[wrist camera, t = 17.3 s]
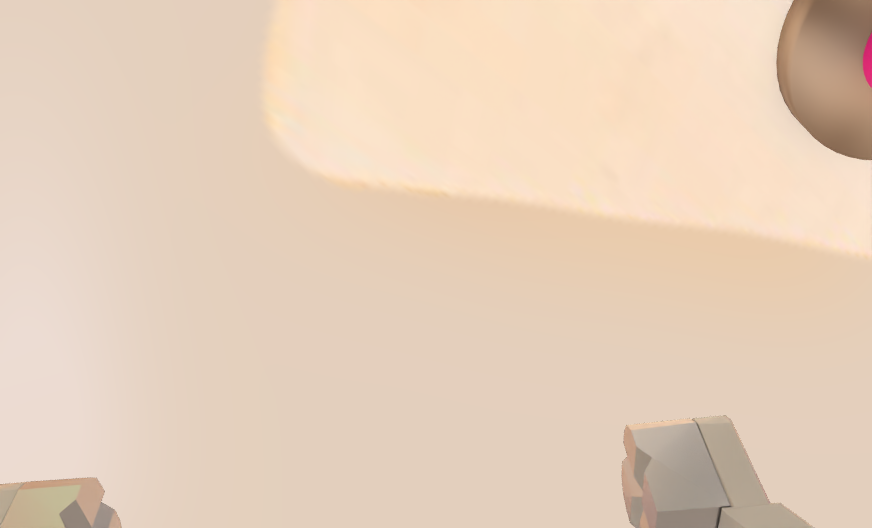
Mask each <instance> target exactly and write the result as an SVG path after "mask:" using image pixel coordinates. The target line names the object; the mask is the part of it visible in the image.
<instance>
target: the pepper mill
mask: <svg viewBox="0 0 872 528" xmlns="http://www.w3.org/2000/svg"><path fill="white" fill-rule="evenodd" d="M863 71H864V76H865V78H866V81H867V82H868V84H869V86H870V87H871V88H872V33H871V35H870V37H869V38H868V41H867V44H866V47H865V50H864V54H863Z"/></svg>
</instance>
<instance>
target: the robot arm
mask: <svg viewBox="0 0 872 528" xmlns="http://www.w3.org/2000/svg"><path fill="white" fill-rule="evenodd" d="M623 442H624V446H625V449H626V453H627V457H626V458H625V459H624V461H622V486H623V495H624V500H625V505H626V509H627V513H628V517H629V521H630V523H631V524H632V525H633V526H634V527H635V528H814V527H813V526H812V525H810V524H809V523H807V522H806V521H805V520H803V519H802V518H801V517H799V516H798V515H797V514H795V513H794V512H792V511H791V510H790V509H788V508H787V507H785V506H784V505H783V504H781V503H770V501H769V499H768V497H767V495H766V493H765V491H764V489H763V487H762V485H761V483H760V480H759V478H758V476H757V474H756V472H755V470H754V468H753V465H752V463H751V461H750V459H749V457H748V455H747V453H746V450H745V448H744V446H743V444H742V442H741V440H740V438H739V436H738V433H737V431H736V429H735V427H734V425H733V423H732V421H731V420H730V419H729V418H728V417H727V416H726V415H724V416H715V417H704V418H694V419H679V420H670V421H661V422H652V423H643V424H634V425H626V428H625V430H624V441H623ZM104 492H105V491H104V489H103V488H102V486H101V484H100V483H99V481H98V479H97V478H75V479H61V480H46V481H31V482H21V483H9V484H0V528H121V523H120V519H119V517H118V515H117V513H116V511H115V510H114V509H113V508H111V507H109V506H107V505H106V504H104V503H102V502H101V501H102V498H103V495H104Z"/></svg>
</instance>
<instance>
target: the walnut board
mask: <svg viewBox="0 0 872 528" xmlns="http://www.w3.org/2000/svg"><path fill="white" fill-rule="evenodd" d="M871 33H872V0H794V1H793V3H792V5H791V7H790V9H789V11H788V13H787V16H786V19H785V22H784V25H783V27H782V30H781V35H780V39H779V44H778V51H777V77H778V82H779V87H780V91H781V93H782V96H783V98H784V101H785V103H786V105H787V106H788V108H789V110H790V111H791V113H792V114H793V115H794V117H795V118H796V119H797V120H798V121H799V122H800V123H801V124H802V125H803V126H804V127H805V128H806V130H807V131H808V132H809V133H810V134H811V135H812V136H813V137H814V138H815V139H816V140H818V141H819V142H820V143H821V144H823V145H824V146H826V147H827V148H829V149H831V150H833V151H835V152H837V153H840V154H842V155H845V156H848V157H852V158H857V159H862V160H872V88H871V87H870V86H869V84H868V82H867V81H866V78H865V76H864V71H863V54H864V50H865V47H866V44H867V41H868V38H869V37H870V35H871Z"/></svg>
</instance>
